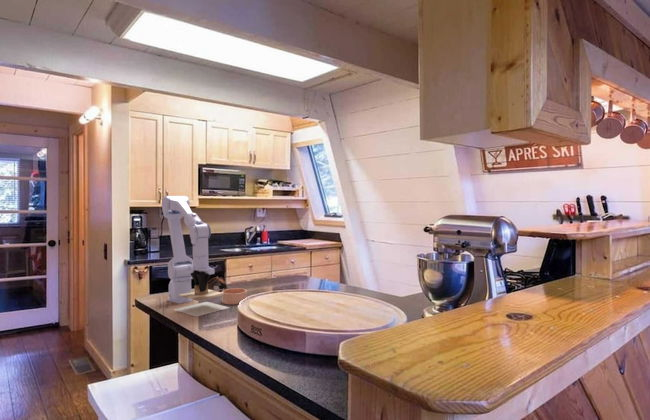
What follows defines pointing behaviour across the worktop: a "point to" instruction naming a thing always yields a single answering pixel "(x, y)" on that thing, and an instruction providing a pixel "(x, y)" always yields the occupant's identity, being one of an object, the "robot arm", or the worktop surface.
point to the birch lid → (201, 294)
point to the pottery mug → (217, 283)
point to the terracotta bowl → (233, 295)
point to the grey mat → (201, 309)
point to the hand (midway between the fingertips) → (201, 290)
